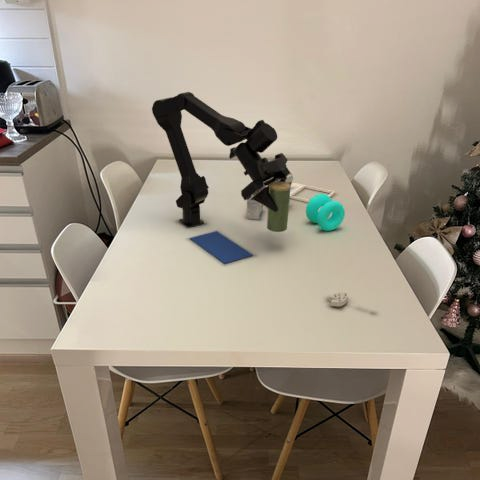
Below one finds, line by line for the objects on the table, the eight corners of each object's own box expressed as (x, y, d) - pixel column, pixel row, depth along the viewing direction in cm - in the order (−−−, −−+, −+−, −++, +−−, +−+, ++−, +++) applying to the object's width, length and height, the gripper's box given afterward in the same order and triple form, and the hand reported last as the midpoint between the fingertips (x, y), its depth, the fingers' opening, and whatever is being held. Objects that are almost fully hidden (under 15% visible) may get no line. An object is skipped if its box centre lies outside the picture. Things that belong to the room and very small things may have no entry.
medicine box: (259, 220, 168) (260, 195, 163) (246, 218, 169) (247, 194, 164) (262, 211, 174) (263, 187, 170) (250, 210, 175) (251, 186, 170)
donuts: (318, 234, 159) (322, 204, 154) (302, 222, 167) (305, 194, 161) (344, 229, 163) (348, 200, 157) (327, 218, 170) (331, 190, 165)
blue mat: (189, 239, 154) (189, 238, 154) (216, 232, 159) (216, 231, 159) (224, 264, 141) (224, 263, 141) (252, 255, 146) (252, 254, 145)
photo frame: (293, 182, 198) (335, 190, 190) (293, 184, 198) (334, 193, 191) (276, 192, 187) (320, 202, 180) (276, 195, 188) (319, 205, 181)
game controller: (328, 295, 128) (330, 287, 126) (373, 302, 126) (375, 293, 124) (326, 306, 123) (328, 298, 122) (373, 313, 121) (375, 305, 120)
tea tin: (262, 225, 147) (265, 183, 140) (279, 222, 150) (283, 180, 142) (273, 233, 143) (276, 190, 135) (291, 229, 145) (295, 186, 138)
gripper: (251, 152, 128) (285, 202, 130) (287, 138, 141) (317, 184, 142) (227, 176, 136) (258, 223, 138) (262, 160, 149) (291, 203, 150)
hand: (282, 207), depth 142 cm, fingers closed on tea tin, 6 cm apart
